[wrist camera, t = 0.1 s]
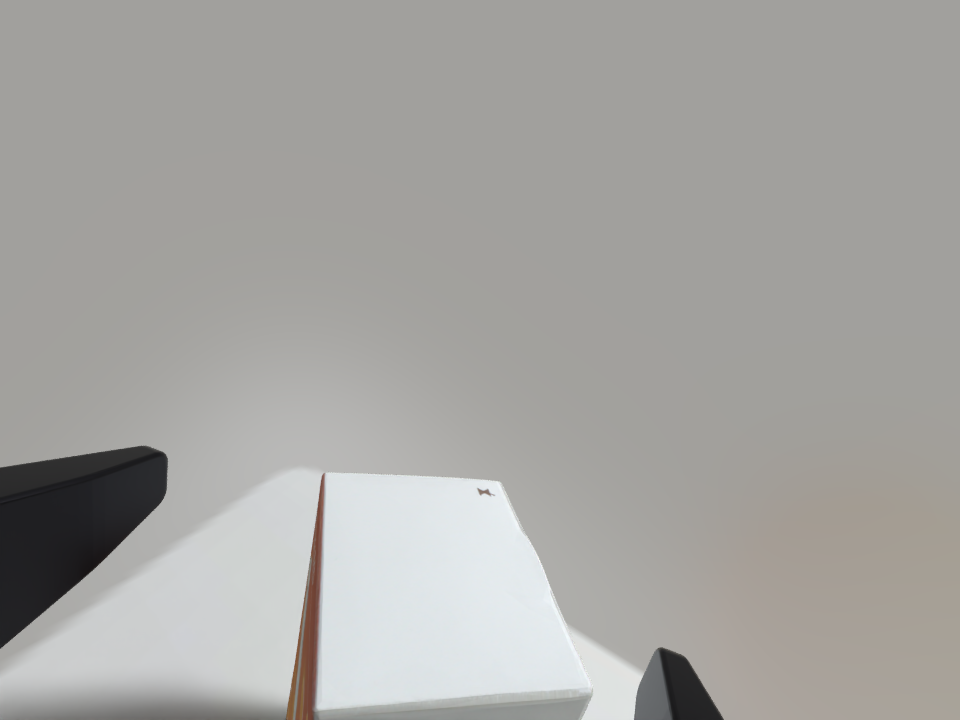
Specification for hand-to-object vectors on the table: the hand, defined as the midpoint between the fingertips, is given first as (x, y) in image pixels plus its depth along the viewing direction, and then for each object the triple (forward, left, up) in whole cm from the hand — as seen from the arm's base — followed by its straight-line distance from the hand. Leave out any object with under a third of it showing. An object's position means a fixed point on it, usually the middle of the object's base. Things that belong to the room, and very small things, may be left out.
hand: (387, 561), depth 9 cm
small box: (+5, 0, -17) cm, 17 cm away
